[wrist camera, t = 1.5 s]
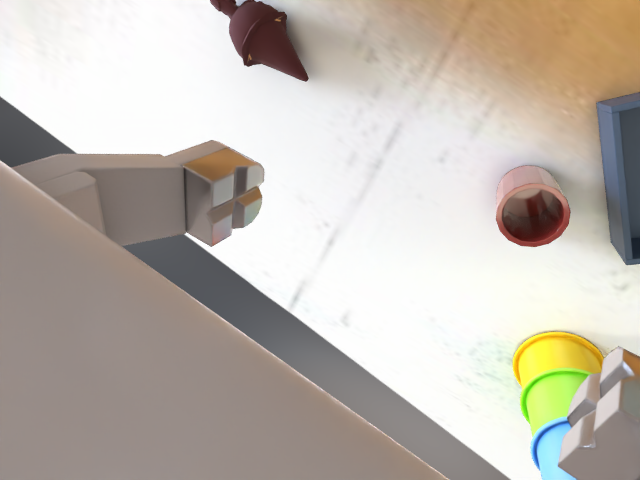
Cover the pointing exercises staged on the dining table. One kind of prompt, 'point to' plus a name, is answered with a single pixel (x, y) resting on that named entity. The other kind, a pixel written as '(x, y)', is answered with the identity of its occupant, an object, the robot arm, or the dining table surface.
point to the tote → (622, 172)
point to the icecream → (261, 36)
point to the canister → (531, 207)
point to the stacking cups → (552, 391)
